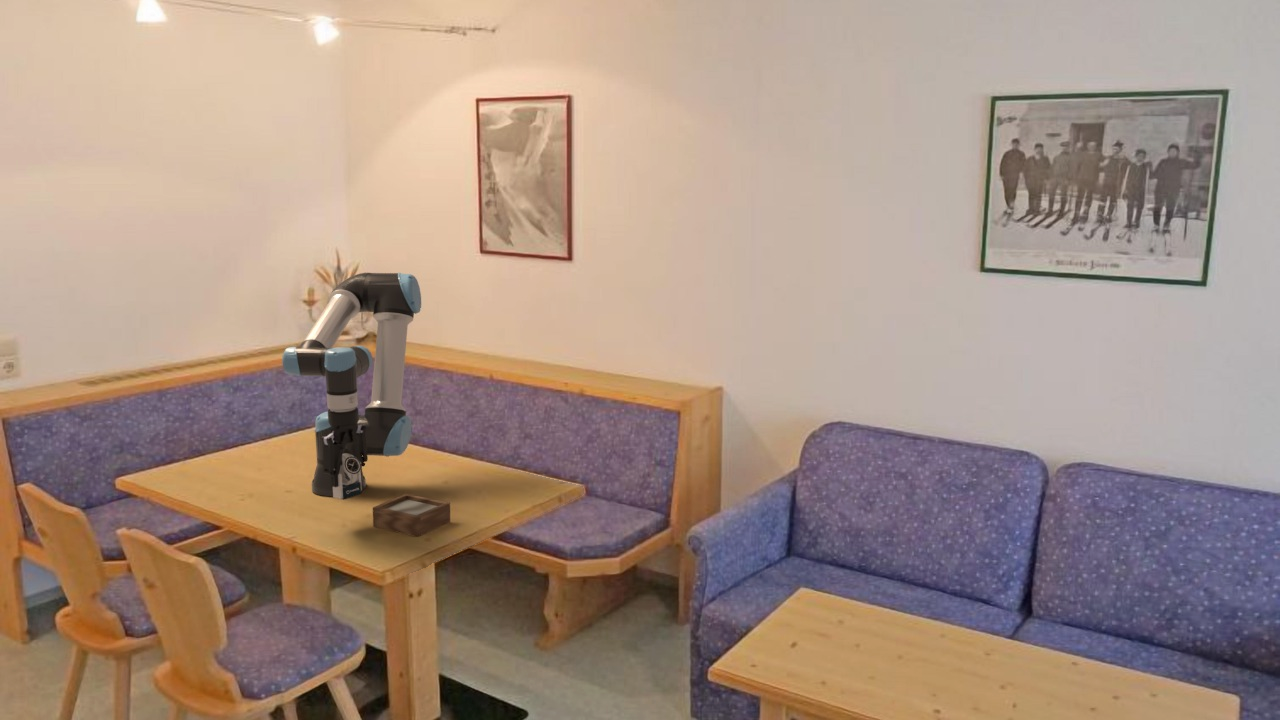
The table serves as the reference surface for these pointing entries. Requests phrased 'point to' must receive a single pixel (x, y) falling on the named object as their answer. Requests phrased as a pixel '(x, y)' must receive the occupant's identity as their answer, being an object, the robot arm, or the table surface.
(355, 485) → the watch
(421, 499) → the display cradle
